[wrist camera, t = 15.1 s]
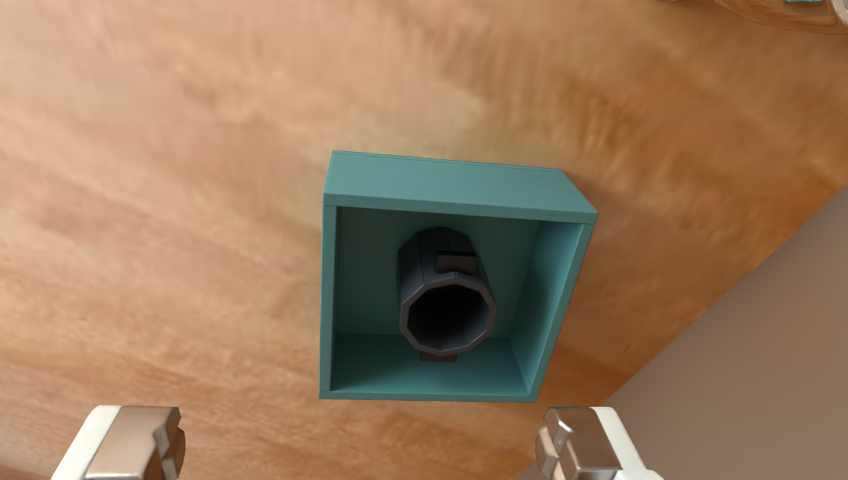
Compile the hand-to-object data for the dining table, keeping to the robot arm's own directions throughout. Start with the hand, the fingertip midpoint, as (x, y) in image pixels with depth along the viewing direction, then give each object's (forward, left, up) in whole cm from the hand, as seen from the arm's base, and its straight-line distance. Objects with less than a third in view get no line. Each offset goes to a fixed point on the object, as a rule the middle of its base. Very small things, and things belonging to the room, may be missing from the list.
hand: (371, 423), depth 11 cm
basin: (+11, +6, -25) cm, 28 cm away
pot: (+11, +6, -25) cm, 27 cm away
